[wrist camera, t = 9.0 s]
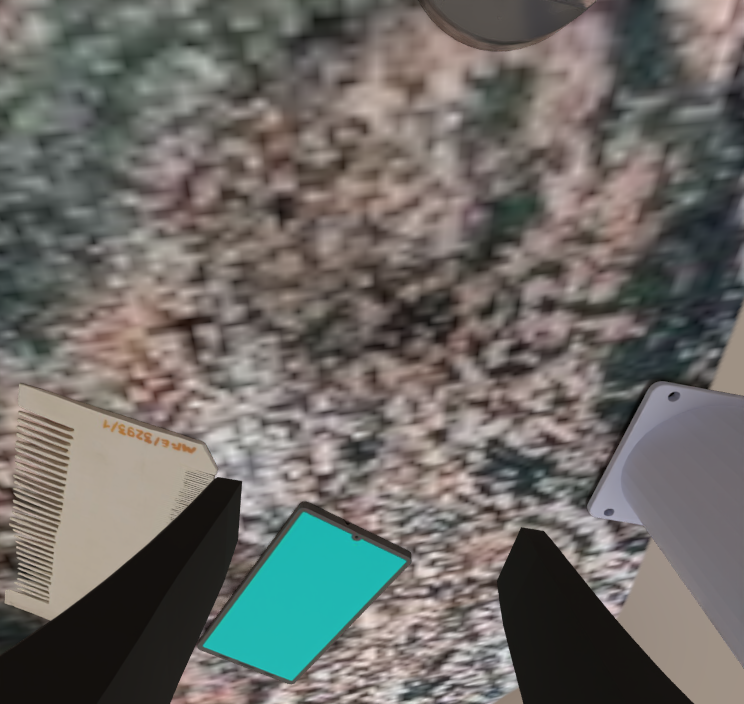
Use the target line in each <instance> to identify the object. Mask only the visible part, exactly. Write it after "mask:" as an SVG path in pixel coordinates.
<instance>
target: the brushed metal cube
mask: <svg viewBox="0 0 744 704" xmlns="http://www.w3.org/2000/svg"><path fill="white" fill-rule="evenodd" d="M546 1H551V2H555V3H560V4H565V5H569V6H574V7H579V8H583V9H586V8H587V7H589V6H590V5H591V4H592V3H594V2H595V1H596V0H546Z"/></svg>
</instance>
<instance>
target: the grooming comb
mask: <svg viewBox="0 0 744 704" xmlns="http://www.w3.org/2000/svg"><path fill="white" fill-rule="evenodd" d="M18 406H20V407H21V408H23V409H25V410H28V411H30V412H33V413H35V414H38V415H40V416H43V417H45V418H47V419H50V420H52V421H55V422H57V423H60V424H63V425H65V426H68V427H70V428H68V427H65V426H63V425H60V424H57V423H54V422H51V421H48V420H46V419H43V418H40V417H37V416H34V415H31V414H28V413H24V412H21V411H19V412H18V414H19V415H21V416H23V417H26V418H28V419H30V420H33V421H35V422H38V423H40V424H43V425H45V426H48V427H50V428H53V429H55V430H53V429H50V428H47V427H44V426H41V425H38V424H35V423H32V422H29V421H26V420H22V419H18V420H17V422H20V423H22V424H25V425H27V426H29V427H32V428H34V429H36V430H39V431H41V432H44V433H46V434H49V435H51V436H54V437H57V438H59V439H57V438H54V437H51V436H48V435H46V434H43V433H40V432H37V431H34V430H31V429H28V428H25V427H21V426H17V429H18V430H21V431H23V432H25V433H28V434H30V435H33V436H35V437H37V438H40V439H42V440H45V441H47V442H50V443H52V444H50V443H47V442H44V441H41V440H38V439H35V438H32V437H29V436H26V435H23V434H20V433H17V434H16V435H17V437H19V438H22V439H24V440H26V441H29V442H31V443H34V444H36V445H39V446H41V447H44V448H46V449H49V450H51V451H49V450H46V449H43V448H40V447H37V446H34V445H30V444H27V443H24V442H19V441H16V443H15V445H17V446H20V447H22V448H25V449H28V450H31V451H33V452H36V453H39V454H41V455H44V456H47V457H49V458H47V457H44V456H41V455H38V454H35V453H32V452H29V451H26V450H23V449H20V448H16V451H18V452H20V453H23V454H25V455H28V456H30V457H33V458H35V459H37V460H40V461H42V462H45V463H47V464H50V465H52V466H50V465H47V464H44V463H41V462H38V461H35V460H32V459H29V458H26V457H23V456H20V455H16V456H15V457H16V458H18V459H20V460H22V461H25V462H27V463H29V464H32V465H34V466H37V467H39V468H42V469H44V470H47V471H49V472H47V471H44V470H41V469H37V468H34V467H31V466H28V465H25V464H22V463H19V462H16V461H15V463H16V465H18V466H20V467H23V468H25V469H27V470H30V471H32V472H34V473H37V474H39V475H42V476H44V477H47V478H50V479H53V480H56V481H58V482H56V481H53V480H50V479H47V478H44V477H41V476H38V475H35V474H32V473H29V472H26V471H23V470H20V469H15V471H17V472H20V473H22V474H24V475H26V476H28V477H31V478H33V479H36V480H38V481H41V482H43V483H46V484H48V485H51V486H54V487H56V488H59V489H56V488H53V487H50V486H47V485H45V484H42V483H39V482H36V481H33V480H30V479H27V478H24V477H21V476H18V475H14V477H15V478H18V479H20V480H23V481H25V482H27V483H30V484H32V485H35V486H38V487H40V488H43V489H46V490H48V491H51V492H54V493H56V494H54V493H51V492H47V491H44V490H41V489H39V488H36V487H33V486H30V485H27V484H24V483H20V482H17V481H14V483H15V484H17V485H20V486H22V487H24V488H27V489H29V490H32V491H34V492H36V493H39V494H41V495H44V496H46V497H49V498H51V499H49V498H46V497H43V496H40V495H37V494H34V493H31V492H28V491H25V490H21V489H18V488H14V490H17V491H19V492H21V493H24V494H26V495H29V496H31V497H33V498H36V499H39V500H41V501H44V502H46V503H49V504H52V505H54V506H52V505H49V504H46V503H43V502H40V501H38V500H35V499H32V498H29V497H25V496H22V495H19V494H16V493H14V494H15V495H16V496H17V497H18V498H21V499H23V500H26V501H28V502H30V503H33V504H35V505H38V506H40V507H43V508H45V509H42V508H39V507H36V506H33V505H29V504H26V503H23V502H19V501H16V500H13V502H14V503H16V504H19V505H21V506H24V507H26V508H29V509H31V510H34V511H37V512H39V513H42V514H44V515H42V514H38V513H35V512H32V511H29V510H26V509H22V508H19V507H16V506H13V508H15V509H18V510H20V511H23V512H25V513H28V514H30V515H33V516H35V517H38V518H40V519H43V520H46V521H49V522H46V521H43V520H40V519H36V518H33V517H30V516H27V515H24V514H20V513H17V512H13V511H12V513H13V514H15V515H16V516H19V517H21V518H24V519H26V520H29V521H32V522H34V523H37V524H40V525H42V526H40V525H36V524H33V523H30V522H27V521H24V520H20V519H17V518H13V517H11V518H10V519H11V520H13V521H15V522H18V523H20V524H23V525H26V526H29V527H31V528H34V529H37V530H40V531H43V532H40V531H37V530H34V529H31V528H27V527H24V526H20V525H16V524H13V523H9V525H10V526H12V527H15V528H18V529H21V530H23V531H26V532H29V533H32V534H35V535H38V536H41V537H38V536H35V535H32V534H29V533H26V532H22V531H19V530H16V529H13V531H15V532H18V533H20V534H23V535H25V536H28V537H30V538H33V539H35V540H38V541H40V542H43V543H46V544H48V545H46V544H43V543H40V542H36V541H33V540H30V539H27V538H23V537H20V536H17V535H13V536H15V537H17V538H19V539H22V540H24V541H26V542H29V543H31V544H34V545H36V546H39V547H42V548H44V549H42V548H39V547H35V546H32V545H29V544H25V543H22V542H19V541H16V543H18V544H21V545H23V546H26V547H28V548H30V549H33V550H35V551H38V552H41V553H43V554H41V553H38V552H35V551H31V550H28V549H24V548H21V547H18V546H17V547H16V548H18V549H20V550H23V551H25V552H27V553H30V554H32V555H35V556H38V557H40V558H43V559H40V558H37V557H34V556H30V555H27V554H24V553H20V552H16V553H17V554H19V555H22V556H24V557H27V558H29V559H32V560H34V561H37V562H39V563H36V562H33V561H30V560H26V559H23V558H19V557H18V559H20V560H22V561H24V562H27V563H29V564H32V565H34V566H37V567H39V568H42V569H44V570H42V569H39V568H36V567H32V566H29V565H25V564H22V563H19V565H21V566H24V567H26V568H29V569H31V570H34V571H36V572H39V573H41V574H39V573H36V572H32V571H29V570H25V569H22V568H18V569H20V570H22V571H25V572H27V573H29V574H32V575H34V576H37V577H39V578H37V577H33V576H29V575H26V574H23V573H18V574H20V575H22V576H24V577H27V578H29V579H32V580H34V581H37V582H39V583H42V584H44V585H42V584H39V583H36V582H32V581H28V580H25V579H21V578H18V580H20V581H23V582H25V583H28V584H30V585H33V586H35V587H32V586H29V585H25V584H22V583H18V582H14V583H15V584H17V585H20V586H22V587H25V588H27V589H30V590H33V591H35V592H38V593H35V592H32V591H29V590H26V589H20V588H16V589H19V590H21V591H24V592H27V593H29V594H32V595H35V596H37V597H40V598H43V599H40V598H37V597H33V596H30V595H27V594H23V593H19V592H16V591H12V590H6V592H5V603H6V604H9V605H14V606H15V607H17V608H20V609H23V610H25V611H28V612H31V613H33V614H36V615H39V616H41V617H44V618H46V619H48V620H52V619H54V618H55V617H57V616H58V615H59V614H61V613H62V612H63V611H65V610H66V609H68V608H69V607H70V606H72V605H73V604H74V603H76V602H77V601H78V600H80V599H81V598H82V597H84V596H85V595H86V594H88V593H89V592H90V591H91V590H93V589H94V588H95V587H97V586H98V585H99V584H100V583H102V582H103V581H104V580H105V579H107V578H108V577H109V576H110V575H112V574H113V573H114V572H115V571H116V570H118V569H119V568H120V567H121V566H122V565H123V564H125V563H126V562H127V561H128V560H129V559H131V558H132V557H133V556H134V555H135V554H137V553H138V552H139V551H140V550H141V549H142V548H144V547H145V546H146V545H147V544H148V543H149V542H150V541H151V540H152V539H154V538H155V537H156V536H157V535H158V534H159V533H160V532H161V531H162V530H163V529H164V528H165V527H167V526H168V525H169V524H170V523H171V522H172V521H173V520H174V519H175V518H176V517H177V516H178V515H179V514H180V513H181V512H182V511H183V510H184V509H185V508H186V507H187V506H188V505H189V504H190V503H191V502H192V501H193V500H194V499H195V498H196V497H197V496H198V495H199V494H200V493H201V492H202V491H203V490H204V489H205V488H206V487H207V486H208V485H209V484H210V483H211V482H212V481H213V480H214V477H215V475H216V474H217V471H218V467H217V465H216V463H215V461H214V460H213V458H212V456H211V454H210V452H209V450H208V448H207V446H206V445H205V443H204V442H202V441H199V440H196V439H193V438H190V437H187V436H184V435H181V434H178V433H175V432H172V431H169V430H166V429H163V428H160V427H156V426H153V425H150V424H147V423H144V422H141V421H138V420H134V419H131V418H128V417H125V416H122V415H119V414H116V413H113V412H109V411H106V410H103V409H100V408H97V407H94V406H91V405H88V404H85V403H82V402H79V401H75V400H72V399H70V398H67V397H64V396H61V395H58V394H55V393H52V392H49V391H46V390H43V389H39V388H36V387H33V386H29V385H25V384H19V393H18ZM56 430H58V431H61V432H58V431H56ZM62 432H63V433H62ZM65 433H66V434H65ZM68 434H69V435H68ZM60 439H62V440H64V441H62V440H60ZM65 441H67V442H65ZM68 442H69V443H68ZM53 444H55V445H53ZM56 445H58V446H56ZM59 446H60V447H59ZM62 447H63V448H62ZM65 448H66V449H65ZM67 449H68V450H67ZM52 451H54V452H52ZM55 452H57V453H55ZM58 453H59V454H58ZM60 454H62V455H60ZM63 455H65V456H63ZM66 456H67V457H66ZM50 458H52V459H50ZM53 459H55V460H58V461H61V462H63V463H61V462H58V461H55V460H53ZM64 463H66V464H64ZM53 466H55V467H53ZM56 467H58V468H56ZM59 468H60V469H59ZM62 469H63V470H62ZM50 472H52V473H50ZM53 473H54V474H53ZM55 474H57V475H55ZM58 475H59V476H58ZM59 482H61V483H59ZM62 483H63V484H62ZM60 489H62V490H60ZM63 490H64V491H63ZM57 494H59V495H57ZM60 495H61V496H60ZM52 499H54V500H52ZM55 500H57V501H55ZM58 501H60V502H58ZM61 502H62V503H61ZM55 506H57V507H55ZM58 507H60V508H58ZM46 509H48V510H46ZM49 510H51V511H49ZM52 511H53V512H52ZM45 515H47V516H45ZM48 516H50V517H48ZM51 517H52V518H51ZM54 518H55V519H54ZM56 519H58V520H56ZM50 522H51V523H50ZM53 523H54V524H53ZM43 526H45V527H43ZM46 527H48V528H46ZM49 528H51V529H49ZM53 529H54V530H53ZM44 532H46V533H44ZM47 533H49V534H47ZM50 534H52V535H50ZM53 535H55V536H53ZM42 537H44V538H42ZM45 538H47V539H45ZM48 539H50V540H48ZM49 545H51V546H49ZM52 546H53V547H52ZM45 549H47V550H45ZM45 554H46V555H45ZM44 559H45V560H44ZM47 560H48V561H47ZM40 563H42V564H40ZM43 564H45V565H43ZM46 570H47V571H46ZM49 571H50V572H49ZM42 574H44V575H42ZM45 575H46V576H45ZM40 578H42V579H40ZM46 585H47V586H46ZM36 587H38V588H36ZM39 588H41V589H39ZM42 589H44V590H42ZM45 590H47V591H45ZM39 593H40V594H39ZM44 599H46V600H44Z"/></svg>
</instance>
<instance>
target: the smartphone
mask: <svg viewBox="0 0 744 704" xmlns="http://www.w3.org/2000/svg"><path fill="white" fill-rule="evenodd" d="M410 564H411V553H410V552H409V551H407V550H405V549H403V548H401V547H399V546H397V545H395V544H393V543H391V542H389V541H387V540H385V539H383V538H381V537H379V536H377V535H374V534H372V533H370V532H368V531H366V530H364V529H362V528H360V527H358V526H356V525H354V524H352V523H349V524H348V525H347V524H346V523H345V520H344V519H341V518H339V517H337V516H335V515H333V514H331V513H329V512H327V511H325V510H323V509H321V508H319V507H317V506H315V505H313V504H311V503H308V502H302V503H300V504H299V506H298V507H297V508H296V510H295V511H294V512H293V514H292V515H291V516H290V518H289V519H288V520H287V522H286V523H285V525H284V526H283V527H282V529H281V530H280V531H279V533H278V534H277V535H276V537H275V538H274V539H273V541H272V542H271V544H270V545H269V546H268V548H267V549H266V550H265V552H264V553H263V554H262V556H261V557H260V558H259V560H258V561H257V563H256V564H255V565H254V567H253V568H252V569H251V571H250V572H249V573H248V575H247V576H246V577H245V579H244V580H243V582H242V583H241V584H240V586H239V587H238V588H237V590H236V591H235V592H234V594H233V595H232V596H231V598H230V599H229V601H228V602H227V603H226V605H225V606H224V607H223V609H222V610H221V611H220V613H219V614H218V615H217V617H216V618H215V619H214V621H213V622H212V624H211V625H210V626H209V628H208V629H207V630H206V632H205V633H204V634H203V636H202V637H201V638H200V641H199V643H198V646H197V647H198V649H199V650H202V651H204V652H207V653H209V654H212V655H215V656H217V657H220V658H222V659H225V660H228V661H230V662H233V663H235V664H238V665H241V666H243V667H246V668H248V669H251V670H254V671H256V672H259V673H261V674H264V675H266V676H269V677H272V678H274V679H277V680H279V681H282V682H285V683H287V684H294V683H295V682H296V681H297V680H298V679H299V678H300V677H301V676H302V675H303V674H304V673H305V672H306V671H307V670H308V669H309V668H310V667H311V666H312V665H313V664H314V663H315V662H316V661H317V660H318V658H319V657H320V656H321V655H322V654H323V653H324V652H325V651H326V650H327V649H328V648H329V647H330V646H331V645H332V644H333V643H334V642H335V641H336V640H337V639H338V638H339V637H340V636H341V635H342V634H343V633H344V632H345V631H346V630H347V629H348V628H349V627H350V626H351V624H352V623H353V622H354V621H355V620H356V619H357V618H358V617H359V616H360V615H361V614H362V613H363V612H364V611H365V610H366V609H367V608H368V607H369V606H370V605H371V604H372V603H373V602H374V601H375V600H376V599H377V598H378V597H379V596H380V595H381V594H382V593H383V591H384V590H385V589H386V588H387V587H388V586H389V585H390V584H391V583H392V582H393V581H394V580H395V579H396V578H397V577H398V576H399V575H400V574H401V573H402V572H403V571H404V570H405V569H406V568H407V567H408V566H409V565H410Z"/></svg>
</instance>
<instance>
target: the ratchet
mask: <svg viewBox="0 0 744 704" xmlns="http://www.w3.org/2000/svg"><path fill="white" fill-rule="evenodd" d="M596 1H597V0H596ZM596 1H595V2H596ZM419 2H420V4H421V5H422V7H423V9H424V10H425V12H426V13H427V14H428V15H429V17H430V18H431V19H432V20H433V22H434V23H436V24H437V25H438V26H439V27H440V28H441V29H442V30H443V31H444V32H445V33H447V34H448V35H450V36H451V37H453V38H454V39H455V40H457V41H459V42H461V43H464V44H466V45H468V46H471V47H474V48H477V49H481V50H488V51H510V50H516V49H521V48H525V47H528V46H531V45H534V44H536V43H538V42H540V41H542V40H544V39H546V38H548V37H550V36H552V35H553V34H555V33H556V32H558V31H559V30H561V29H562V28H564V27H565V26H566V25H568V24H569V23H570V22H572V21H573V20H574V19H575V18H577V17H578V16H579V15H581V14H582V13H583V12H584V11H586V10H587V9H588V8H589V7H590V6H592V5H593V4H594V3H595V2H594V3H592V4H591V5H590V6H589V7H587V8H586V9H583V8H579V7H574V6H569V5H565V4H560V3H555V2H551V1H546V0H419Z"/></svg>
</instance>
